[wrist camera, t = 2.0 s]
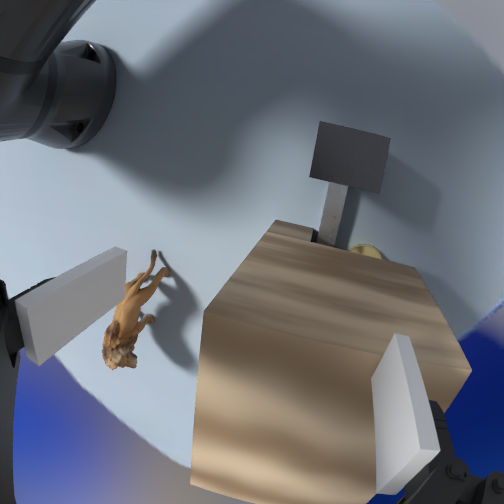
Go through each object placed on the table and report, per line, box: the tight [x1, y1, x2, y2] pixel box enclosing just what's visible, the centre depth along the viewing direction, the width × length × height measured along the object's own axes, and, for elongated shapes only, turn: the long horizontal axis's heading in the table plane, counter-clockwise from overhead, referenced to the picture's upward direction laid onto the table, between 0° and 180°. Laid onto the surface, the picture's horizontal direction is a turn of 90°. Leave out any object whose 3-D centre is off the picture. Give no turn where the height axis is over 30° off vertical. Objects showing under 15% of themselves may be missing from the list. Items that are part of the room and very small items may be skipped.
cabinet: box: [190, 220, 472, 504], centre depth 26 cm, size 18×15×20 cm
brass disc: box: [348, 244, 382, 259], centre depth 32 cm, size 4×4×1 cm
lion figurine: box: [102, 249, 169, 370], centre depth 36 cm, size 15×5×9 cm, turn 164°
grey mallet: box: [309, 121, 391, 247], centre depth 28 cm, size 22×5×10 cm, turn 170°
